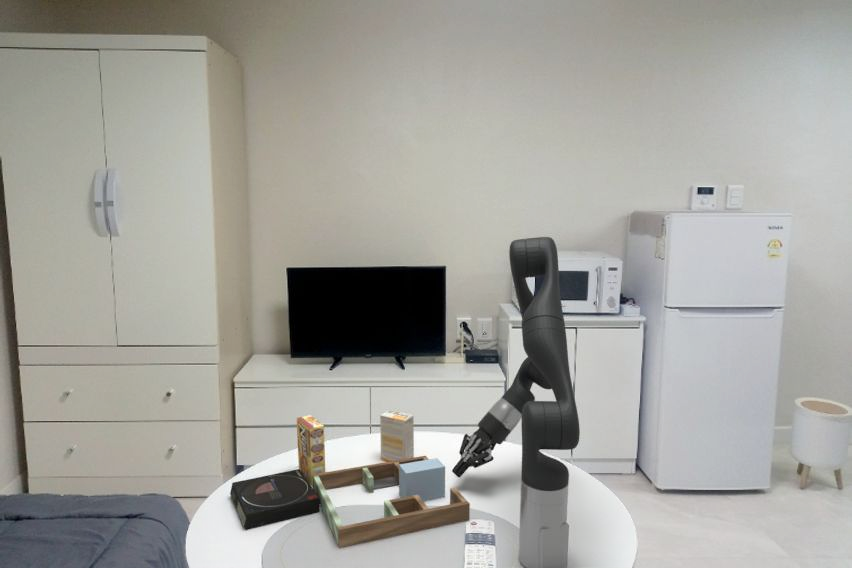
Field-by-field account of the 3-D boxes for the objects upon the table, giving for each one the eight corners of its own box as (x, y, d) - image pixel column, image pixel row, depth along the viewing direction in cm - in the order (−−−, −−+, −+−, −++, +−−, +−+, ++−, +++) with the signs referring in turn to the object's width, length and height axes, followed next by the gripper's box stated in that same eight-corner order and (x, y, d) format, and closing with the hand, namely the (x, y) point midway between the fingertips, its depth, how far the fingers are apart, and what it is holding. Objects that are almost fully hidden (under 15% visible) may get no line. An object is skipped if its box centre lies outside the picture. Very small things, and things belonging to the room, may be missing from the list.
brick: (444, 497, 151) (445, 466, 150) (406, 505, 147) (406, 473, 146) (436, 488, 156) (437, 458, 154) (399, 495, 152) (399, 464, 151)
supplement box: (414, 460, 171) (414, 414, 169) (404, 467, 167) (404, 420, 165) (390, 453, 175) (389, 409, 173) (379, 459, 171) (379, 414, 169)
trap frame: (469, 519, 141) (469, 503, 140) (339, 547, 130) (339, 530, 129) (425, 469, 165) (425, 455, 165) (312, 489, 154) (312, 474, 153)
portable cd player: (230, 498, 150) (229, 483, 150) (299, 483, 158) (299, 468, 158) (244, 532, 136) (243, 515, 135) (319, 514, 144) (319, 497, 143)
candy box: (326, 482, 158) (325, 425, 155) (310, 487, 155) (309, 428, 153) (312, 469, 165) (311, 414, 163) (297, 473, 163) (295, 417, 160)
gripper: (479, 403, 161) (435, 455, 159) (504, 421, 149) (456, 478, 147) (496, 420, 164) (453, 471, 162) (522, 439, 152) (476, 495, 149)
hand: (455, 474), depth 154 cm, fingers closed
